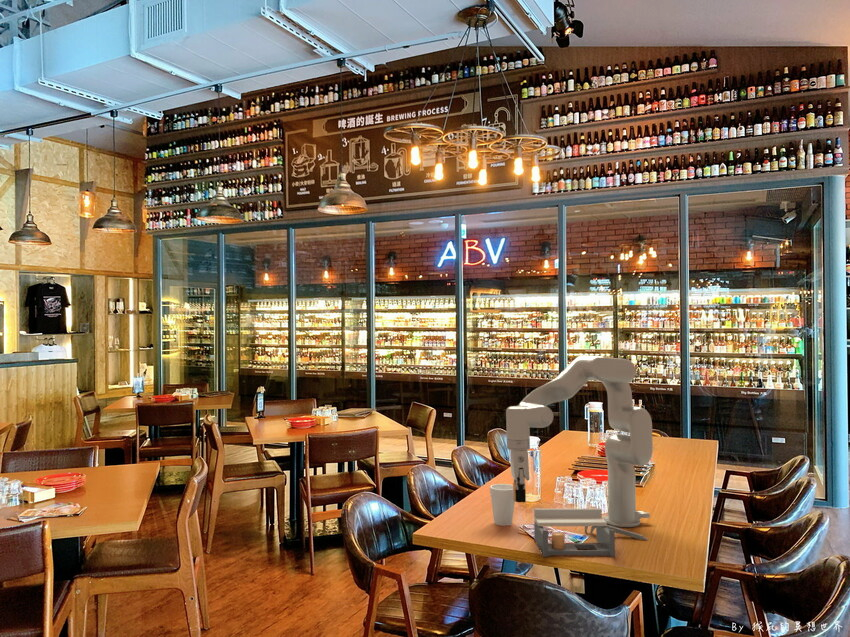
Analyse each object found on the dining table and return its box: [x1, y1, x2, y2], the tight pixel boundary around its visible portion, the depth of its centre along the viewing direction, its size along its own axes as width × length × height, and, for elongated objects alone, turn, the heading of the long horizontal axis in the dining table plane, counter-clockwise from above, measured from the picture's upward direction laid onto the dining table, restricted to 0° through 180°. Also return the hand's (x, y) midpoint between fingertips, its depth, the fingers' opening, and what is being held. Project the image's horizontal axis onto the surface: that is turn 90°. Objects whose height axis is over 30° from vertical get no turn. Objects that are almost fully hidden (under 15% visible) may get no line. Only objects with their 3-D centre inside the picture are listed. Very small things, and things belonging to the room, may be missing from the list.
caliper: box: [584, 524, 648, 541], centre depth 212 cm, size 20×1×6 cm, turn 67°
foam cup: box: [489, 483, 516, 527], centre depth 227 cm, size 10×9×13 cm
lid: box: [533, 507, 608, 527], centre depth 205 cm, size 22×7×4 cm, turn 90°
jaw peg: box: [512, 482, 520, 503], centre depth 207 cm, size 4×4×6 cm
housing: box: [533, 520, 616, 558], centre depth 201 cm, size 22×15×8 cm
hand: (519, 499), depth 207 cm, fingers closed on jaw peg, 4 cm apart
